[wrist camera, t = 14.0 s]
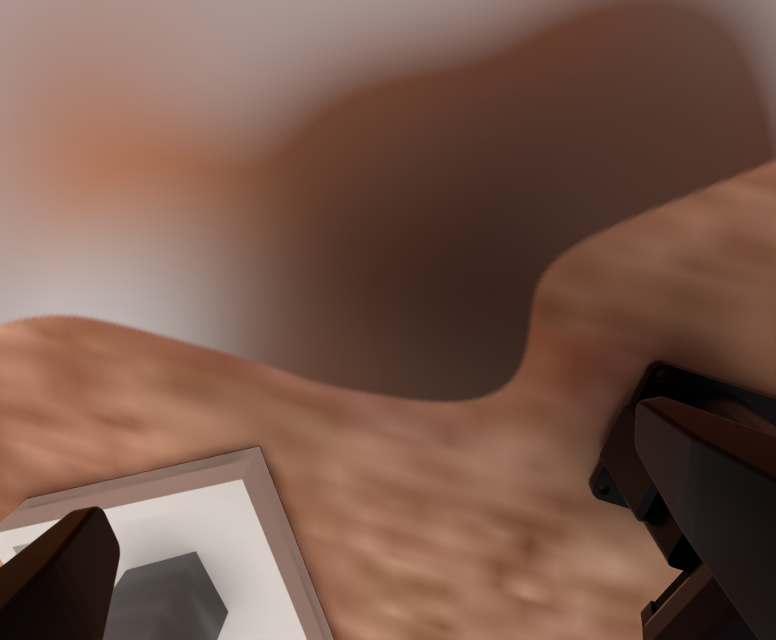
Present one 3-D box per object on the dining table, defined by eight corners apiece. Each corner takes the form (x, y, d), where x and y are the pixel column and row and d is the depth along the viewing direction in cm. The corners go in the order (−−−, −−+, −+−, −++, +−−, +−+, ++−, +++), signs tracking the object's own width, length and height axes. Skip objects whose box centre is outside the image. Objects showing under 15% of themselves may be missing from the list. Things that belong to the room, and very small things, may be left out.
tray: (259, 446, 24) (242, 479, 22) (336, 646, 27) (329, 694, 25) (26, 499, 26) (-14, 535, 23) (126, 683, 29) (100, 731, 27)
